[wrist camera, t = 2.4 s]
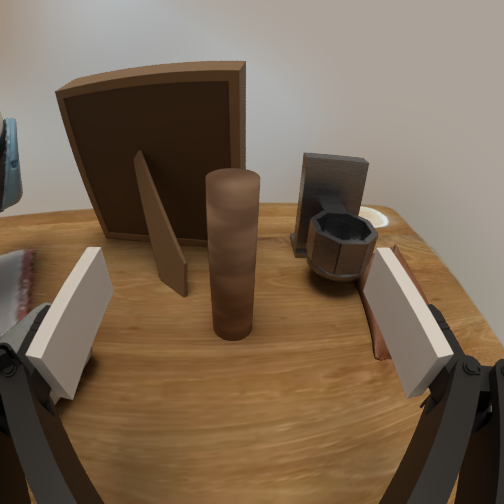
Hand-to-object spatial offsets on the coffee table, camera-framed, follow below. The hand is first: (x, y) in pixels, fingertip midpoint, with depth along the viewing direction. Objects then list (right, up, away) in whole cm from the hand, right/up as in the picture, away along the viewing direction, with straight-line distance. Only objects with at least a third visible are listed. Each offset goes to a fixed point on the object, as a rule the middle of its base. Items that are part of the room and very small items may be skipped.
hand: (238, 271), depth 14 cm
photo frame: (-12, 0, +27) cm, 29 cm away
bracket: (+11, -1, +26) cm, 28 cm away
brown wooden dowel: (-1, -7, +17) cm, 18 cm away
